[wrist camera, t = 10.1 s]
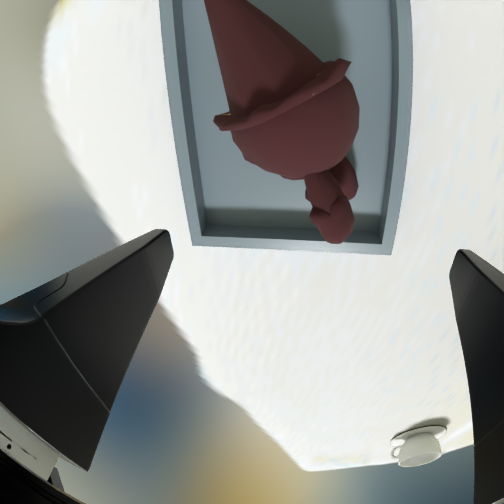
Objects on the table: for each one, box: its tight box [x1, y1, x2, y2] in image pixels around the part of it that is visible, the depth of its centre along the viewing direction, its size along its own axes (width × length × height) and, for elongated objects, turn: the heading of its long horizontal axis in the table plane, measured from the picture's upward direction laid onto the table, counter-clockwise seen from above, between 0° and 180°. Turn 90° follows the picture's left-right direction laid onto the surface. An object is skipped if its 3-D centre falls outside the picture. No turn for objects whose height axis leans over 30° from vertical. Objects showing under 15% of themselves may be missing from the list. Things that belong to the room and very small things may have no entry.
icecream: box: [204, 0, 360, 244], centre depth 14 cm, size 7×7×15 cm
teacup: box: [390, 426, 447, 467], centre depth 37 cm, size 10×10×5 cm
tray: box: [159, 0, 413, 255], centre depth 16 cm, size 14×20×2 cm
